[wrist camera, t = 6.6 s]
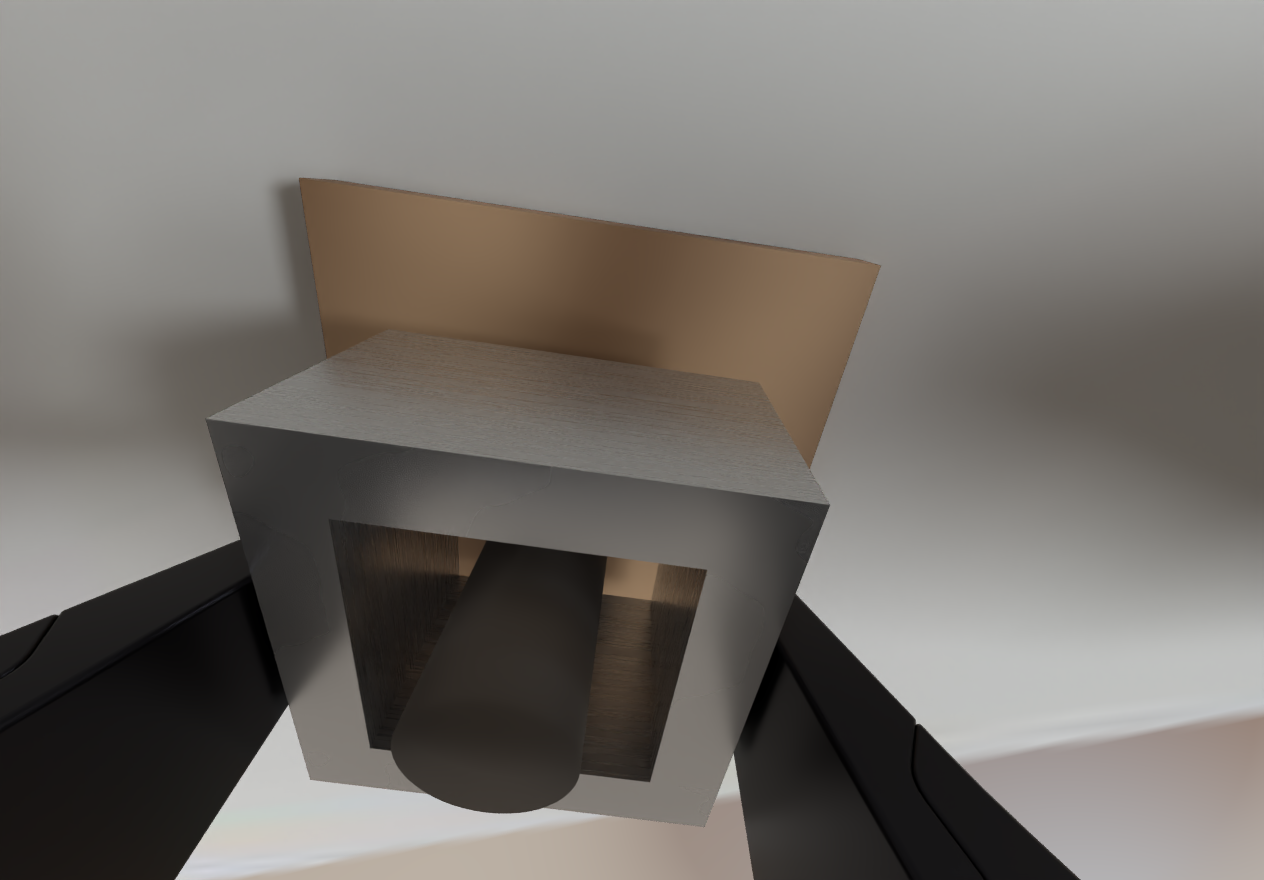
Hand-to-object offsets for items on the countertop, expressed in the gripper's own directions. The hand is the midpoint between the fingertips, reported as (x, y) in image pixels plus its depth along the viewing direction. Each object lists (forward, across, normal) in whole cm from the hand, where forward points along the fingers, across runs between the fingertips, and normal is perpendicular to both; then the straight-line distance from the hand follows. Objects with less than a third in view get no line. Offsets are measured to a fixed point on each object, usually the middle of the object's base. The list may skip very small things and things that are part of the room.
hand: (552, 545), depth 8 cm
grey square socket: (+1, 0, 0) cm, 1 cm away
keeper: (+4, 0, 0) cm, 4 cm away
